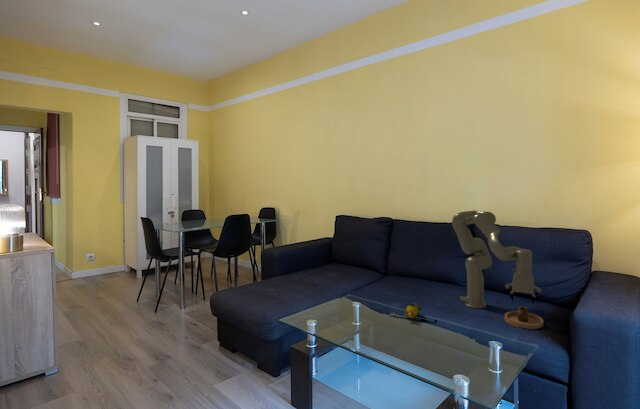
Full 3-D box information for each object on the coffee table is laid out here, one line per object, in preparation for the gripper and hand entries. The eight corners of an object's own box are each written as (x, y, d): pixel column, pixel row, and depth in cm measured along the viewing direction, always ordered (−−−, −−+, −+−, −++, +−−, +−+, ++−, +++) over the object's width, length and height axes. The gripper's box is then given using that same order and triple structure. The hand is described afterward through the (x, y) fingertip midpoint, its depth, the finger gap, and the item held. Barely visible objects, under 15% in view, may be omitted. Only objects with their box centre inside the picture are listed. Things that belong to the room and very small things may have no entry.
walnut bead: (517, 321, 190) (517, 308, 189) (517, 317, 194) (517, 305, 194) (528, 322, 188) (528, 309, 187) (528, 319, 192) (528, 306, 191)
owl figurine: (385, 304, 202) (392, 296, 216) (385, 319, 203) (393, 310, 216) (434, 312, 189) (439, 303, 202) (434, 327, 190) (439, 317, 203)
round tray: (503, 325, 187) (503, 321, 187) (504, 312, 204) (504, 309, 203) (544, 331, 178) (544, 327, 178) (542, 318, 194) (542, 314, 194)
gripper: (505, 271, 190) (504, 301, 192) (542, 275, 181) (541, 306, 183) (505, 268, 196) (504, 296, 198) (541, 271, 188) (540, 301, 189)
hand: (522, 301), depth 191 cm, fingers open, 9 cm apart
